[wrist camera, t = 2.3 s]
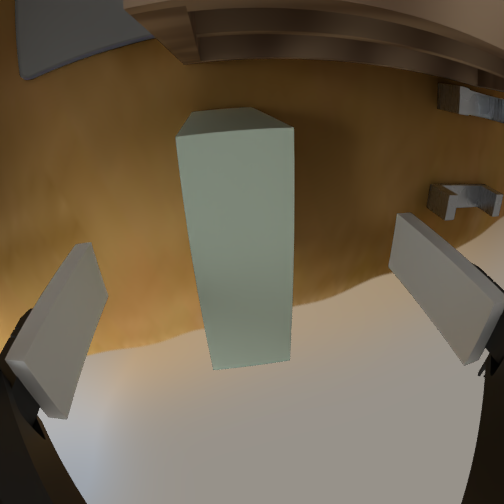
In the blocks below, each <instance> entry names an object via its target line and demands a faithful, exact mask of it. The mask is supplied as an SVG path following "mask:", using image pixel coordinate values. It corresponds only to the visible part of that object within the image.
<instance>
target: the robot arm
mask: <svg viewBox="0 0 504 504" xmlns="http://www.w3.org/2000/svg"><path fill="white" fill-rule="evenodd" d="M388 267H389V268H390V269H391V271H392V272H393V273H394V274H395V275H396V277H397V278H398V279H399V280H400V281H401V283H402V284H403V285H404V286H405V288H406V289H407V290H408V291H409V293H410V294H411V295H412V296H413V297H414V299H415V300H416V301H417V302H418V304H419V305H420V306H421V308H422V309H423V310H424V311H425V313H426V314H427V315H428V317H429V318H430V319H431V321H432V322H433V323H434V325H435V326H436V327H437V329H438V330H439V331H440V333H441V334H442V336H443V337H444V338H445V340H446V341H447V342H448V344H449V345H450V347H451V348H452V349H453V351H454V352H455V353H456V355H457V356H458V358H459V359H460V361H461V362H462V364H463V365H468V364H470V363H472V362H475V361H477V360H479V358H480V356H481V354H482V353H483V351H484V349H485V348H486V349H487V350H488V351H489V355H488V357H487V359H486V360H485V362H484V364H483V365H482V367H481V369H480V371H479V373H478V376H480V375H481V374H482V372H483V371H484V370H485V375H484V377H485V383H484V395H483V403H482V411H481V418H480V425H479V432H478V437H477V442H476V448H475V453H474V457H473V462H472V466H471V470H470V474H469V478H468V483H467V486H466V490H465V493H464V496H463V500H462V503H461V504H504V290H503V289H502V288H501V287H500V286H499V285H498V284H496V282H493V280H492V279H491V278H490V277H489V276H487V274H486V273H485V272H484V271H483V270H482V269H480V268H479V267H478V266H476V265H474V264H473V263H471V262H470V261H469V260H467V259H466V258H465V257H464V256H463V255H462V254H461V253H459V252H458V251H457V250H456V249H455V248H454V247H453V246H451V245H450V244H449V243H448V242H447V241H445V240H444V239H443V238H442V237H441V236H439V235H438V234H437V233H436V232H435V231H433V230H432V229H431V228H430V227H428V226H427V225H426V224H425V223H423V222H422V221H421V220H420V219H418V218H417V217H416V216H415V215H413V214H412V213H397V217H396V224H395V231H394V237H393V243H392V249H391V254H390V260H389V265H388ZM107 298H108V294H107V291H106V288H105V285H104V282H103V279H102V276H101V273H100V270H99V267H98V263H97V260H96V257H95V254H94V250H93V247H92V244H91V242H89V243H82V244H76V245H75V246H74V247H73V249H72V250H71V252H70V253H69V254H68V256H67V257H66V259H65V260H64V262H63V263H62V264H61V266H60V267H59V269H58V270H57V272H56V273H55V275H54V276H53V278H52V279H51V281H50V282H49V284H48V285H47V287H46V288H45V290H44V292H43V293H42V295H41V296H40V298H39V300H38V301H37V303H36V304H35V306H34V308H33V309H29V310H28V311H27V312H26V313H25V314H24V315H23V316H22V317H21V318H20V320H19V322H18V323H17V325H16V327H15V330H13V332H12V334H11V335H10V336H11V338H9V339H8V341H7V343H6V344H5V346H4V348H3V350H2V352H1V354H0V504H87V503H86V502H85V500H84V498H83V497H82V495H81V494H80V492H79V491H78V489H77V487H76V486H75V484H74V482H73V481H72V479H71V477H70V476H69V474H68V472H67V470H66V469H65V467H64V465H63V463H62V461H61V460H60V458H59V456H58V454H57V452H56V450H55V448H54V446H53V444H52V442H51V440H50V438H49V436H48V434H47V431H46V429H45V427H44V425H43V423H42V421H41V420H40V418H39V417H38V416H37V414H38V411H39V408H41V409H42V410H43V411H44V412H45V414H46V415H47V416H48V417H51V418H58V419H67V418H68V414H69V411H70V407H71V404H72V400H73V397H74V393H75V390H76V387H77V383H78V380H79V377H80V374H81V370H82V367H83V364H84V361H85V358H86V355H87V352H88V349H89V347H90V344H91V341H92V338H93V335H94V332H95V330H96V327H97V324H98V322H99V319H100V316H101V314H102V311H103V308H104V306H105V303H106V301H107Z"/></svg>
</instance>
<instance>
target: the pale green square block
mask: <svg viewBox="0 0 504 504" xmlns="http://www.w3.org/2000/svg"><path fill="white" fill-rule="evenodd" d="M175 138H176V147H177V155H178V164H179V172H180V180H181V187H182V195H183V202H184V209H185V216H186V223H187V229H188V236H189V242H190V249H191V255H192V261H193V267H194V273H195V278H196V284H197V290H198V295H199V301H200V306H201V311H202V317H203V322H204V327H205V332H206V337H207V342H208V347H209V352H210V357H211V361H212V366H213V370H219V369H229V368H237V367H246V366H253V365H261V364H268V363H276V362H282V361H288V360H290V347H291V326H292V300H293V265H294V127H292V126H290V125H288V124H286V123H284V122H282V121H280V120H278V119H276V118H274V117H271V116H269V115H267V114H265V113H263V112H261V111H259V110H257V109H254V108H252V107H242V108H228V109H216V110H206V111H196V112H192V113H191V114H190V116H189V117H188V119H187V120H186V122H185V123H184V125H183V126H182V128H181V129H180V131H179V132H178V134H177V135H176V137H175Z"/></svg>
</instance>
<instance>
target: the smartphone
mask: <svg viewBox="0 0 504 504" xmlns="http://www.w3.org/2000/svg"><path fill="white" fill-rule="evenodd" d="M15 24H16V42H17V54H18V64H19V73H20V77H21V78H23V79H24V80H30V79H34V78H36V77H38V76H41V75H43V74H45V73H47V72H50V71H52V70H55V69H57V68H60V67H62V66H65V65H67V64H70V63H73V62H75V61H78V60H81V59H84V58H87V57H90V56H92V55H95V54H99V53H102V52H105V51H108V50H111V49H115V48H118V47H121V46H125V45H129V44H132V43H136V42H140V41H144V40H148V39H153V38H155V37H154V36H153V35H152V34H151V33H150V32H149V31H148V30H147V29H145V28H144V27H143V26H142V25H141V24H140V23H139V22H138V21H136V20H135V19H134V18H133V17H132V16H131V15H130V14H128V13H127V12H126V11H125V10H124V9H123V0H15Z"/></svg>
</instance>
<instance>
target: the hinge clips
mask: <svg viewBox="0 0 504 504" xmlns="http://www.w3.org/2000/svg"><path fill="white" fill-rule="evenodd" d="M437 109H442V110H446V111H450V112H454V113H458V114H462V115H467V116H468V114H469V115H474V116H478V117H483V118H487V119H491V120H494V121H498V122H501V123H504V99H500V98H496V97H491V96H488V95H484V94H481V93H478V92H474V91H470V89H469V88H466V87H462V86H457V85H450V84H442V83H438V106H437ZM502 198H503V194H501V193H500V192H498V191H496V190H494V189H493V188H491V187H489V186H487V185H485V184H430V189H429V196H428V202H427V208H428V209H430V210H431V211H432V212H434V213H435V214H437V215H438V216H439V217H441V218H442V219H443V220H454V216H455V211H456V208H462V207H478V208H480V209H481V210H483V211H484V212H486V213H487V214H489V215H490V216H492V217H494V216H499V212H500V207H501V203H502Z"/></svg>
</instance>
